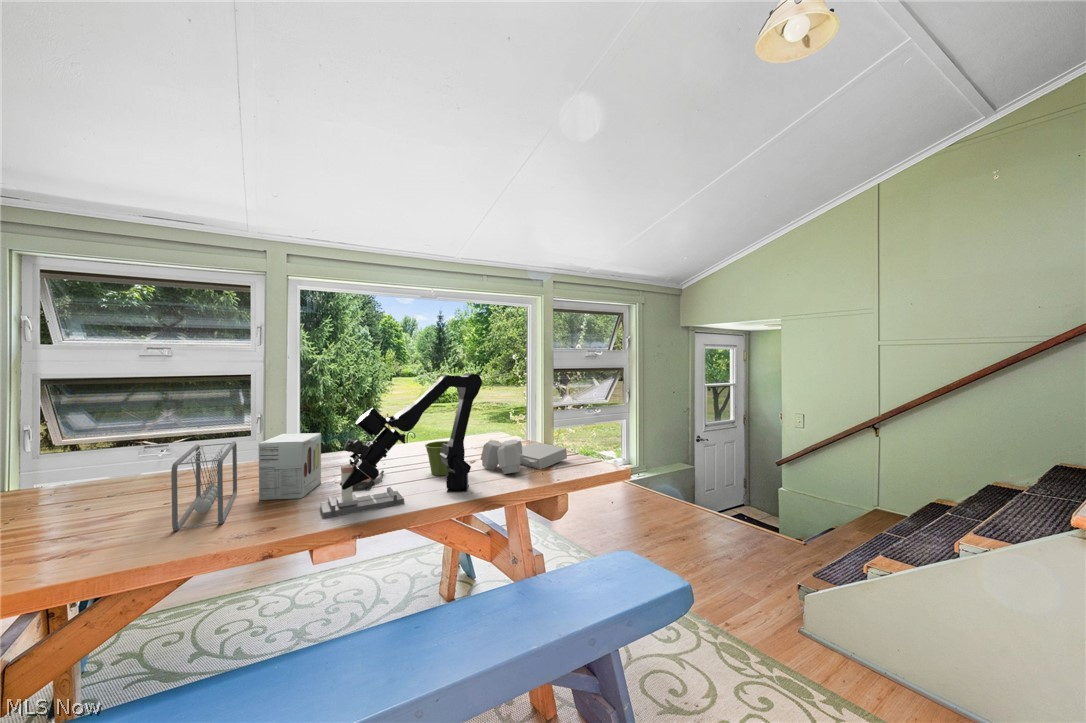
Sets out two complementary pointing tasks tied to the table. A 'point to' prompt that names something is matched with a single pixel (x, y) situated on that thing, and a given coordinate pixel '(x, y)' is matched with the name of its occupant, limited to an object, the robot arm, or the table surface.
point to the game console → (520, 455)
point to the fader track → (362, 503)
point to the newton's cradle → (212, 491)
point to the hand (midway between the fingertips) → (341, 487)
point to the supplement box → (289, 465)
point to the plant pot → (436, 458)
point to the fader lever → (347, 494)
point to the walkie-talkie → (367, 483)
